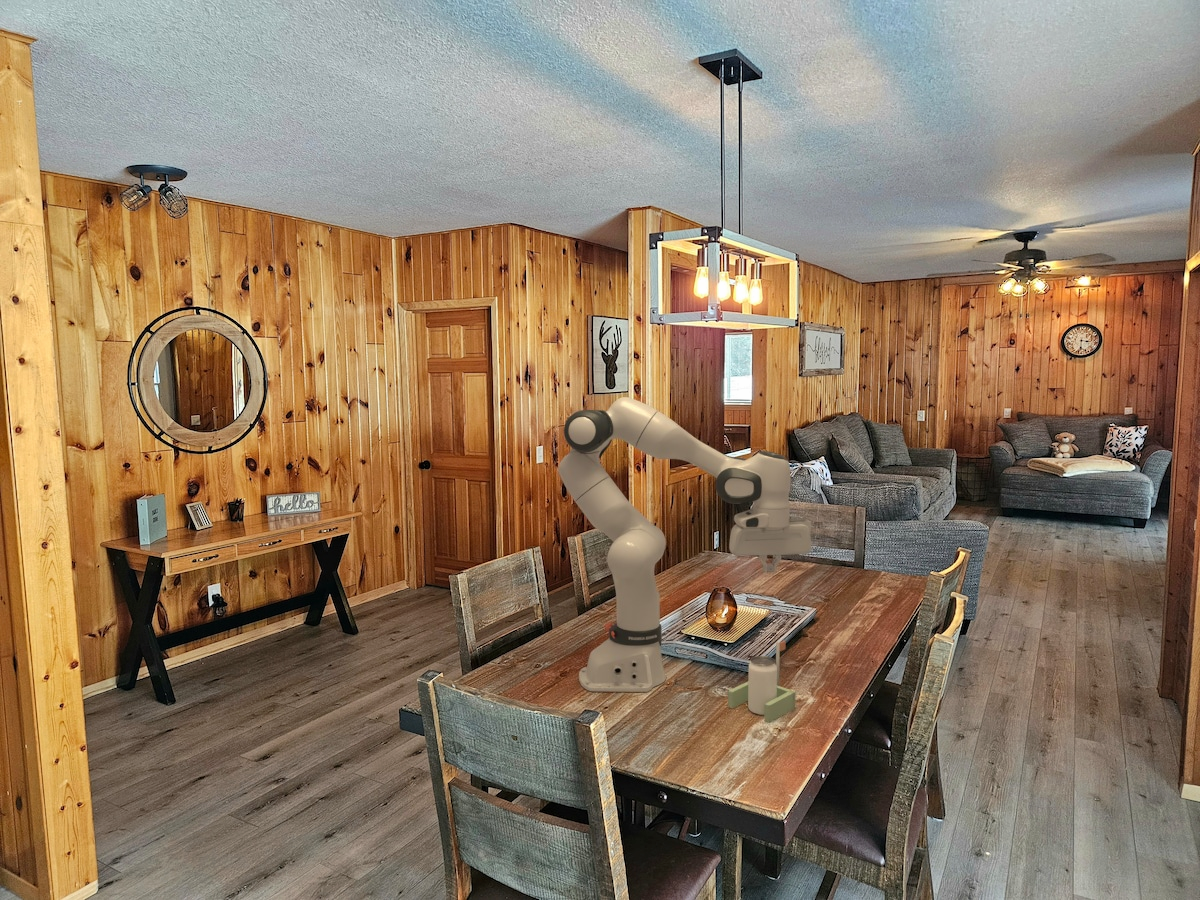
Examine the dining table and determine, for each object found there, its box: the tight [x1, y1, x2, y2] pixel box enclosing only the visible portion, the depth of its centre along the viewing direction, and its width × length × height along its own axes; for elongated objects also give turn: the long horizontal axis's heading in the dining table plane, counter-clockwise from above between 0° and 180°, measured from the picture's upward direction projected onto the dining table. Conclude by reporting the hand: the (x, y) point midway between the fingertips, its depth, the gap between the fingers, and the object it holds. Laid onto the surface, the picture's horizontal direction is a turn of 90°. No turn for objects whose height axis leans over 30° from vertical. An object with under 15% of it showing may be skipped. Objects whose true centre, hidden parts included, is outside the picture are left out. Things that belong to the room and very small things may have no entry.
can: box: [747, 655, 777, 716], centre depth 182 cm, size 6×6×12 cm
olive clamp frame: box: [727, 640, 797, 723], centre depth 184 cm, size 15×11×14 cm
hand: (769, 571), depth 195 cm, fingers closed
